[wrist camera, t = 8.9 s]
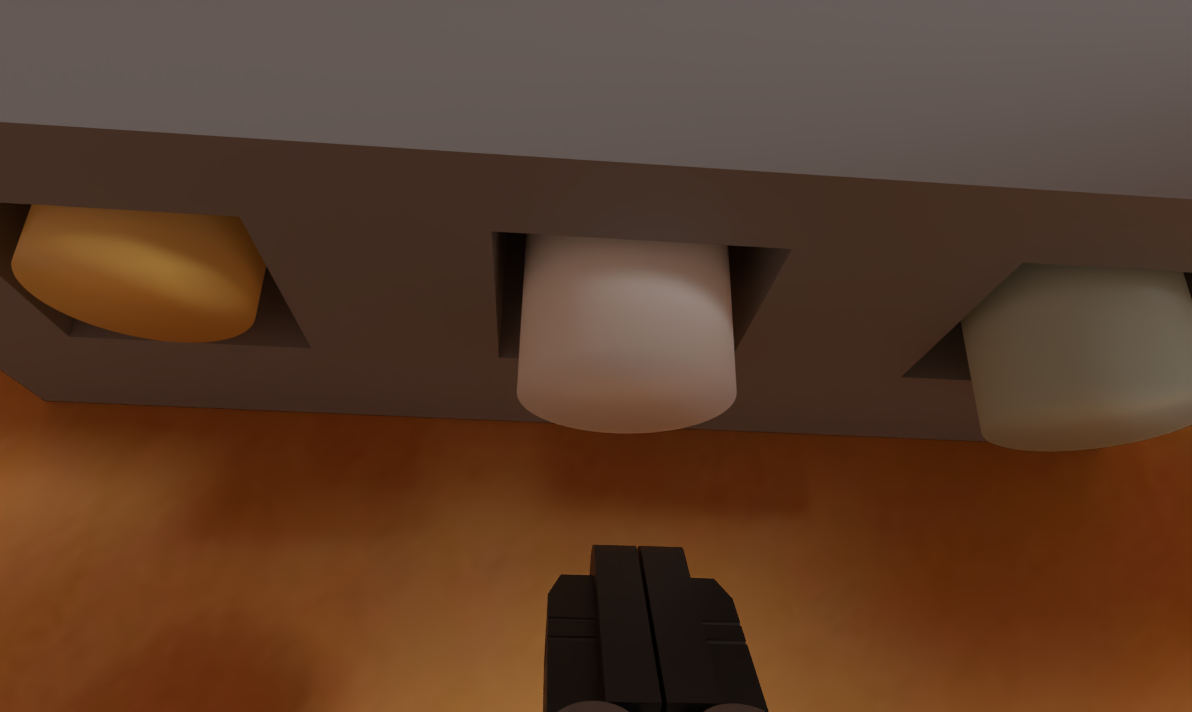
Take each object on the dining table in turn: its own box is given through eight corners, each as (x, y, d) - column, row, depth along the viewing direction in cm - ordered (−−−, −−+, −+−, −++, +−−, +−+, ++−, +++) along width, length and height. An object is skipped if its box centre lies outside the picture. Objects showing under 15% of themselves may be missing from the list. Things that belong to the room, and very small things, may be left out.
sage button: (1064, 219, 20) (1183, 107, 17) (1125, 455, 18) (1281, 383, 14) (905, 209, 20) (990, 93, 16) (945, 447, 17) (1055, 372, 14)
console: (1045, 204, 26) (1368, -124, 16) (1106, 447, 23) (1559, 223, 13) (124, 145, 24) (-154, -267, 14) (44, 400, 21) (-391, 96, 11)
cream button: (700, 196, 20) (741, 75, 16) (711, 437, 17) (762, 357, 14) (531, 185, 19) (533, 60, 16) (516, 429, 17) (515, 345, 13)
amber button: (323, 118, 20) (279, -21, 16) (279, 347, 17) (215, 243, 14) (150, 106, 19) (65, -37, 16) (79, 337, 17) (-42, 229, 13)
